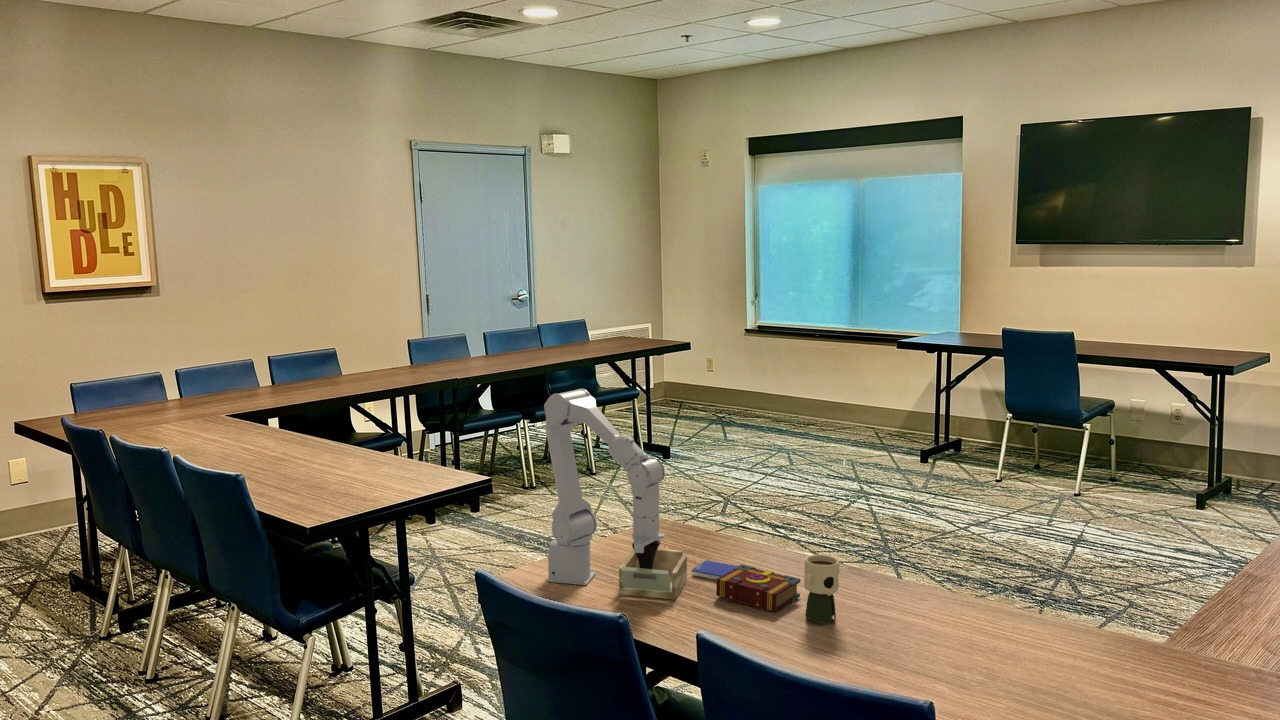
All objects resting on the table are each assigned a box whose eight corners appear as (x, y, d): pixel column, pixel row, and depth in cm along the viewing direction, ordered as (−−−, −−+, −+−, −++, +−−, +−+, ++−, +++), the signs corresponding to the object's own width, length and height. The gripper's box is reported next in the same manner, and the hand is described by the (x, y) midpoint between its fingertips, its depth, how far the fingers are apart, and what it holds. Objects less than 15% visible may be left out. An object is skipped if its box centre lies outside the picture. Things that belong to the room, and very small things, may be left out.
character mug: (820, 632, 199) (822, 570, 197) (791, 623, 203) (792, 562, 202) (849, 616, 206) (851, 557, 205) (820, 608, 211) (821, 549, 209)
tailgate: (623, 589, 218) (620, 572, 214) (625, 584, 219) (622, 566, 216) (669, 594, 215) (667, 576, 212) (670, 588, 216) (668, 570, 213)
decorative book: (775, 614, 208) (775, 592, 207) (710, 596, 217) (711, 574, 216) (800, 598, 217) (800, 576, 216) (737, 581, 226) (737, 560, 225)
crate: (619, 594, 219) (619, 563, 218) (632, 575, 231) (632, 546, 230) (676, 599, 216) (676, 568, 215) (686, 580, 228) (686, 551, 227)
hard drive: (691, 569, 230) (739, 578, 224) (707, 559, 237) (754, 568, 231) (691, 575, 230) (739, 585, 224) (707, 565, 237) (754, 574, 231)
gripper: (656, 525, 206) (656, 587, 208) (671, 505, 220) (671, 564, 222) (624, 523, 207) (624, 584, 209) (640, 503, 221) (640, 561, 223)
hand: (646, 574), depth 216 cm, fingers closed, pressing on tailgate
